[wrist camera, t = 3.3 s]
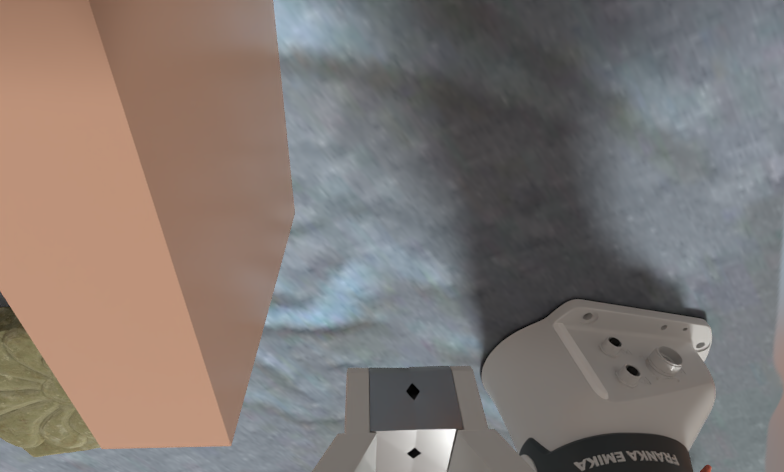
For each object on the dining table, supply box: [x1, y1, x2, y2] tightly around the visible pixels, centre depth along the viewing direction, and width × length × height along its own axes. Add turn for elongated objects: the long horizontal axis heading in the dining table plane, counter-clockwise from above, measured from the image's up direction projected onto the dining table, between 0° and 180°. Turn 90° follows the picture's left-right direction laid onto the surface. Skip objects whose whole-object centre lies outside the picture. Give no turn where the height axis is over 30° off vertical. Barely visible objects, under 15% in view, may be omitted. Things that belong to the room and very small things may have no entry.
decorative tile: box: [0, 307, 100, 457], centre depth 39 cm, size 19×20×4 cm
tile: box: [0, 0, 295, 449], centre depth 20 cm, size 5×16×18 cm, turn 177°
